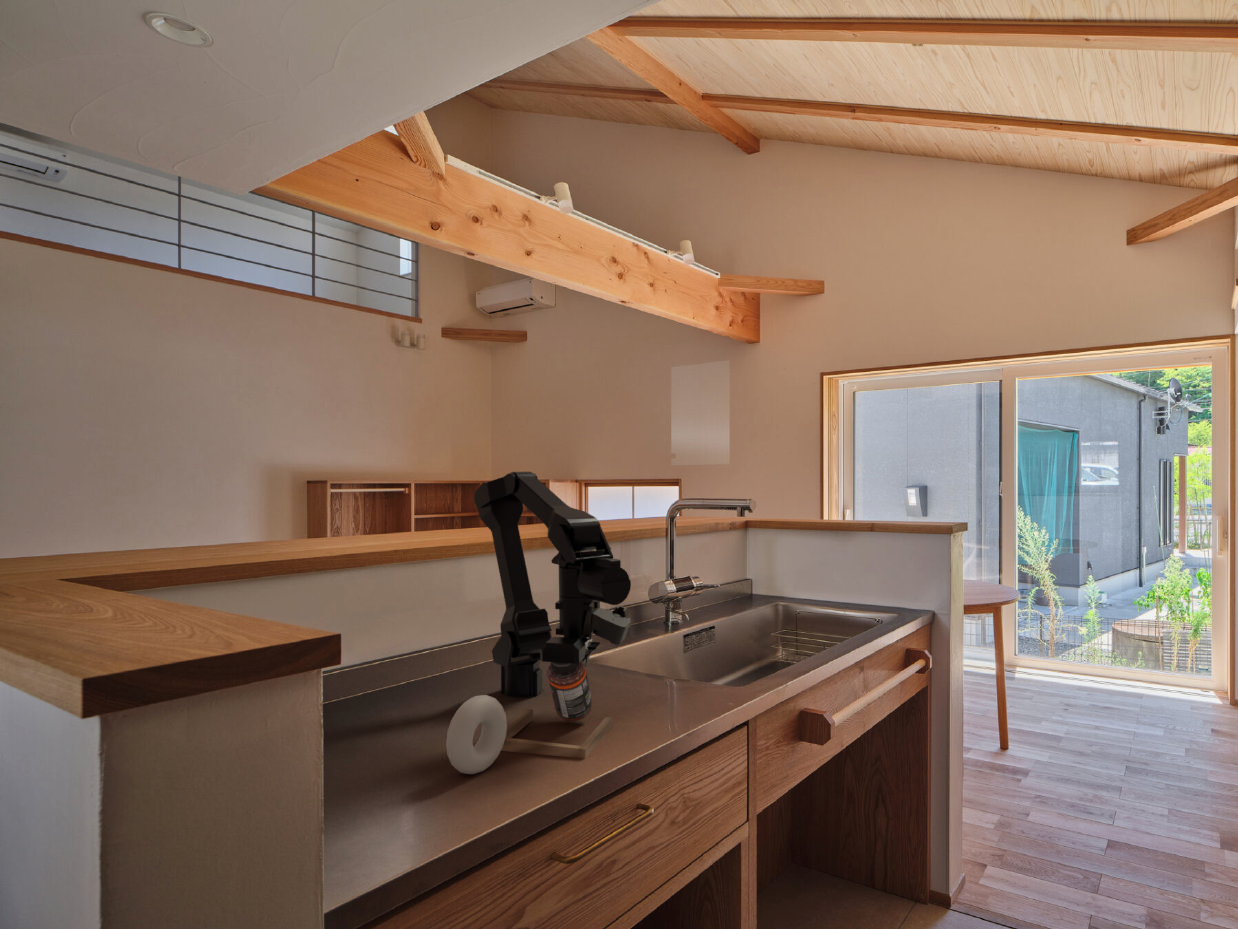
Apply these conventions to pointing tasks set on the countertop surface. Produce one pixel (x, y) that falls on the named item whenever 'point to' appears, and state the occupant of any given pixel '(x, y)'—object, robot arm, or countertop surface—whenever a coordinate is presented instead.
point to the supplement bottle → (570, 690)
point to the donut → (464, 728)
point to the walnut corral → (548, 747)
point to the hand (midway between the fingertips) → (578, 689)
